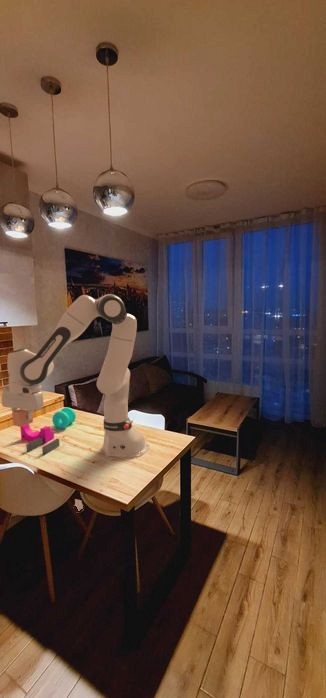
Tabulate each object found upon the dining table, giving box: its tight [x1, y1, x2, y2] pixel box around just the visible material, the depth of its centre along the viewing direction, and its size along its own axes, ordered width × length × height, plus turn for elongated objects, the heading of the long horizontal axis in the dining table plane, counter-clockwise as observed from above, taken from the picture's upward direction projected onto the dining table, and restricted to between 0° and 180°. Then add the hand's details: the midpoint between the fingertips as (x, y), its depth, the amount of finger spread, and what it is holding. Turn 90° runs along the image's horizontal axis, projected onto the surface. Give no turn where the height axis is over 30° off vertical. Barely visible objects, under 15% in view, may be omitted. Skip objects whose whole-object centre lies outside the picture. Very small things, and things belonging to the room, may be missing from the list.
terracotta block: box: [11, 408, 34, 428], centre depth 127 cm, size 5×6×6 cm
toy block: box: [19, 424, 55, 444], centre depth 150 cm, size 15×6×8 cm, turn 72°
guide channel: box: [25, 436, 60, 456], centre depth 140 cm, size 10×10×4 cm
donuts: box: [51, 406, 77, 430], centre depth 167 cm, size 10×10×10 cm
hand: (23, 418), depth 128 cm, fingers closed on terracotta block, 5 cm apart
